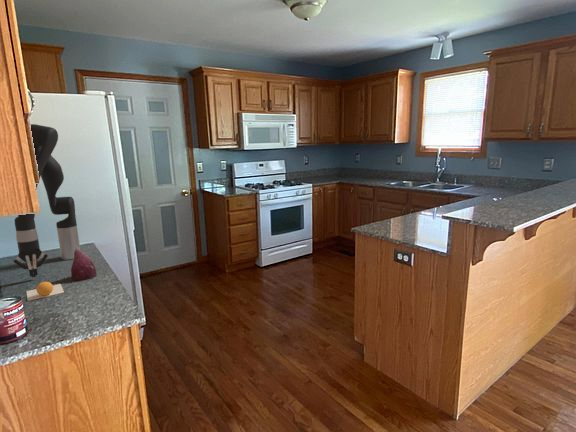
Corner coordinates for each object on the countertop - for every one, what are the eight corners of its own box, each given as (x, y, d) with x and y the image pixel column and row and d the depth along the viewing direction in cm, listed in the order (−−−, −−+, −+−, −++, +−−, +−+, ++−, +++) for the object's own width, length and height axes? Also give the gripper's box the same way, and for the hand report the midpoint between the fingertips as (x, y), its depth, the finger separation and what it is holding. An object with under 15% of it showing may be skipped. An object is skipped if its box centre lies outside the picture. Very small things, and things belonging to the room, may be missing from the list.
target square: (26, 291, 143) (26, 291, 143) (60, 284, 151) (60, 283, 151) (27, 300, 134) (27, 300, 134) (64, 292, 141) (64, 292, 141)
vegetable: (69, 285, 158) (55, 255, 155) (90, 275, 167) (77, 246, 164) (81, 283, 152) (67, 252, 150) (102, 273, 161) (89, 243, 159)
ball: (38, 290, 134) (39, 300, 137) (55, 285, 138) (55, 295, 141) (34, 281, 137) (34, 291, 139) (50, 277, 141) (50, 287, 143)
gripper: (45, 235, 160) (50, 271, 164) (8, 240, 152) (15, 278, 156) (46, 238, 155) (52, 275, 158) (8, 243, 147) (15, 282, 150)
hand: (33, 276), depth 157 cm, fingers closed
